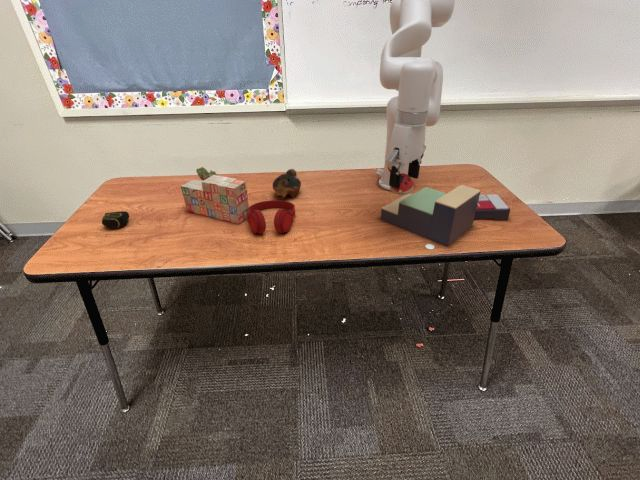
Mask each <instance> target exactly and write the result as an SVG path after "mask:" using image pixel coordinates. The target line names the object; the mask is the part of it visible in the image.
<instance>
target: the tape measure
mask: <svg viewBox="0 0 640 480" xmlns="http://www.w3.org/2000/svg"><path fill="white" fill-rule="evenodd" d="M129 219H130V214H129V212H128V211H123V210H121V211H112V212H105V213H104V215H103V216H102V219H101V224H102V225H103V226H104V227H105V228H106V229H117V228H118V229H119V228H121V227H124V226H125V225H127V224H128V222H129Z"/></svg>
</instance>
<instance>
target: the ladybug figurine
mask: <svg viewBox="0 0 640 480" xmlns="http://www.w3.org/2000/svg"><path fill="white" fill-rule="evenodd" d="M400 174H401V182H400V188H395V187H392V186H389V187H390V190H389V191H391V192H392V193H394V194H396V195H399V196H404V195H406V194H409V193H410V194H412V192H413V191H414V189H415V183H414V181H413V178H412V177H410V176H409V175H407V174H405V173H400Z"/></svg>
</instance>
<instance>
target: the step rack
mask: <svg viewBox="0 0 640 480" xmlns="http://www.w3.org/2000/svg"><path fill="white" fill-rule="evenodd" d="M481 192H482V190H481V189H478V188H474V187H471V186H467V185H464V184H460V185H457V186H456V187H455V188H454V189H452V190H450V191H448V192H444V191H442V190H438V189H435V188H432V187H428V186H425V187H423V188H422V189H419V190H418V191H416V192H415V193H409V194H406V195H401V196H400V197H399V198H397V199H394V200H393V201H391V202H389V203H387V204H386V205H384V206H382V207H381V209H380V220H382V221H384V222H387V223H390V224H392V225H394V226H396V227H399V228H401V229H403V230H406V231H409V232H412V233H413V234H416V235H419V236H421V237H424V238H425V239H428V240H431V241H433V242H436V243H438V244H441V245H443V246H446V247H449V246H451V245H452V244H453V243H454V242H455V241H456V240H457V239H459V238H460V237H461V236H462V235H464V234H466V232H467V231H469V230H470V229H472V228H473V224H474V220H475V219H474V217H475V213H476V209H477V205H478V201H479V196H480V194H481Z"/></svg>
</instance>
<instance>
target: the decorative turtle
mask: <svg viewBox="0 0 640 480" xmlns="http://www.w3.org/2000/svg"><path fill="white" fill-rule="evenodd" d="M301 186H302V182H301V180H300V179H299V177H297V171H296V170H295V169H294V168H290V169H288V170H287V171H286V172H285V173H283V174H280V175H278V176H277V177H276V178H275V179H274V180H273V182H272V189H273V190H274V191H275V196H276V198H277V199H278V200H284V199H285V198H286V197H287V196H289V197H290V198H292V199H294V198H295V197H296V196H297V194H298V193H299V192H300V189H301Z"/></svg>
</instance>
